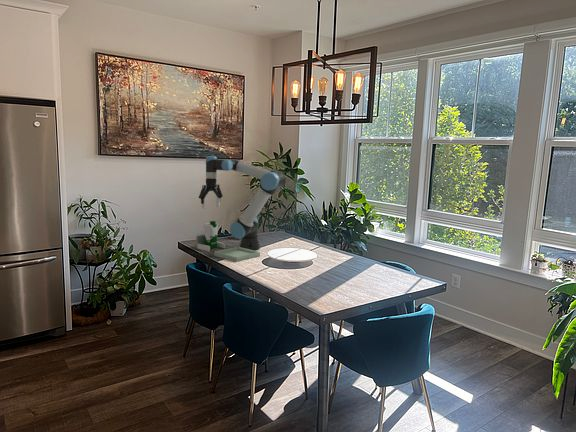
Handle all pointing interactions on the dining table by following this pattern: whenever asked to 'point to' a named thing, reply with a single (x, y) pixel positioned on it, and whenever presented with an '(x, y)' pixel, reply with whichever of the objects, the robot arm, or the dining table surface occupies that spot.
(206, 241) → the soya milk
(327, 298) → the dining table surface
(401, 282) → the dining table surface
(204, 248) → the dock
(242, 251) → the tray
